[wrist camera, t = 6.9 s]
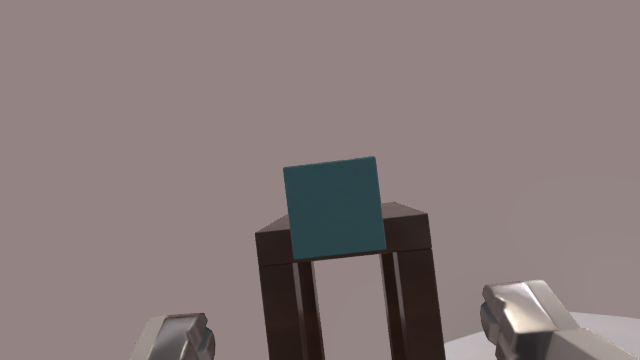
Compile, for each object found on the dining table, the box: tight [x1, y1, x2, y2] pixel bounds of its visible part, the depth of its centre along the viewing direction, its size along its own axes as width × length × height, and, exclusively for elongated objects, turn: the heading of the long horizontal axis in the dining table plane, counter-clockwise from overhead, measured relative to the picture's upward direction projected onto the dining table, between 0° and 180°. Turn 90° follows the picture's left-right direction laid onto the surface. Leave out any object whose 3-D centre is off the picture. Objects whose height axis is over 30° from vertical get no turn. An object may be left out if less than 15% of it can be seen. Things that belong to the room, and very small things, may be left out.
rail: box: [283, 156, 386, 259], centre depth 22 cm, size 22×3×3 cm, turn 177°
